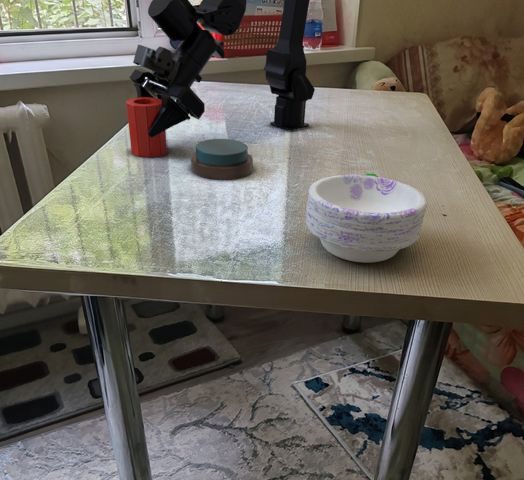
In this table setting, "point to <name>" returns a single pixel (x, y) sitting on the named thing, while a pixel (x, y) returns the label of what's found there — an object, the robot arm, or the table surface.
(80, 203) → the table surface
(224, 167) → the stack base
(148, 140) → the red cylinder
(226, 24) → the robot arm
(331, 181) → the paper bowls
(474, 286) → the table surface
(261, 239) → the table surface
